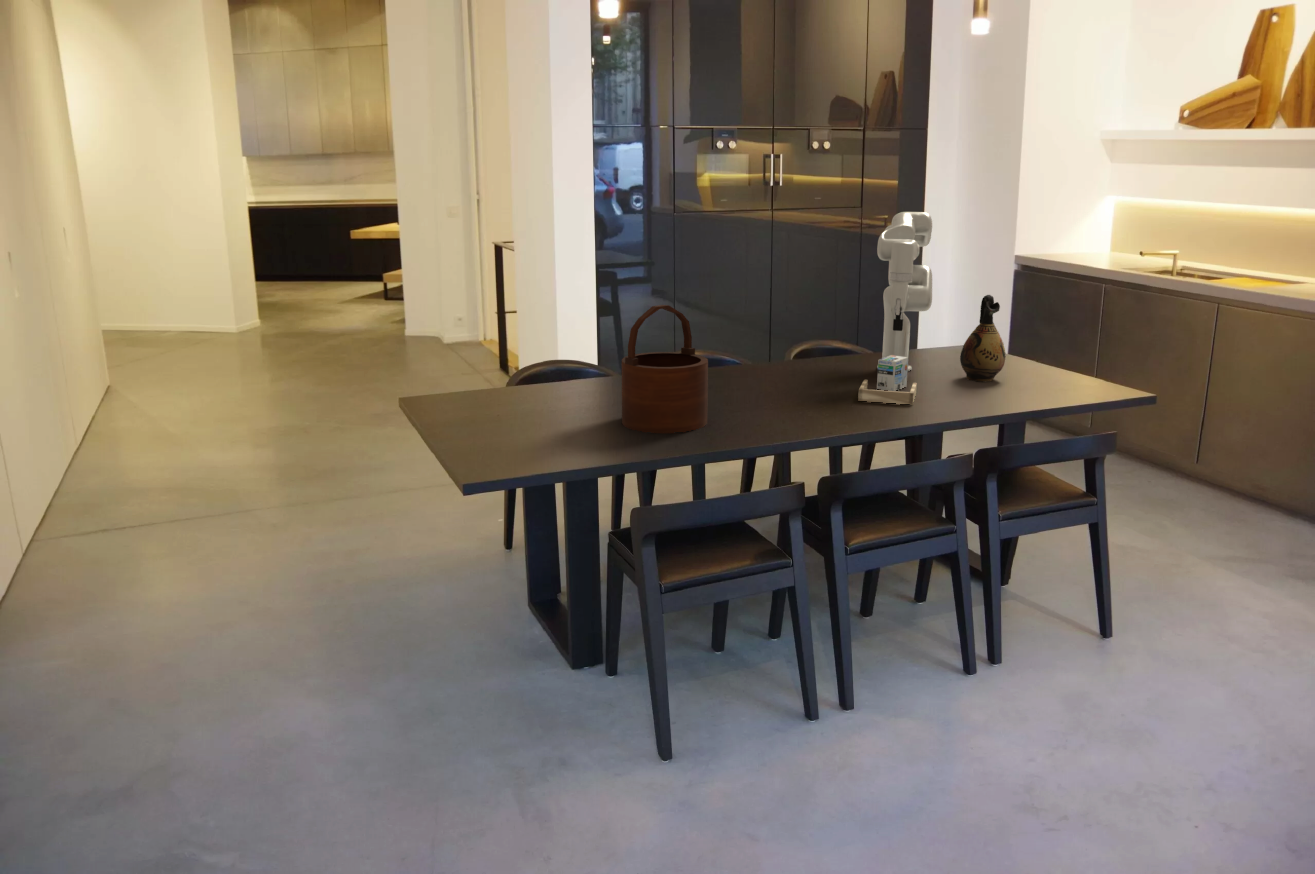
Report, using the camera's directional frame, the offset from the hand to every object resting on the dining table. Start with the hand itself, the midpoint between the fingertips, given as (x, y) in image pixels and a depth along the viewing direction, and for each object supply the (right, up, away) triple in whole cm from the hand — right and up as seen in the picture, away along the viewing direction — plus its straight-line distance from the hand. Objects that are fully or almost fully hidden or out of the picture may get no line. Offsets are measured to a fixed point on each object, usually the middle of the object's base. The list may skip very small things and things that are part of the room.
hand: (897, 330), depth 358 cm
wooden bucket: (-82, -33, -50) cm, 101 cm away
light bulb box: (-3, -21, -5) cm, 22 cm away
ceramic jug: (+32, -17, +11) cm, 38 cm away
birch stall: (-8, -24, -19) cm, 32 cm away
